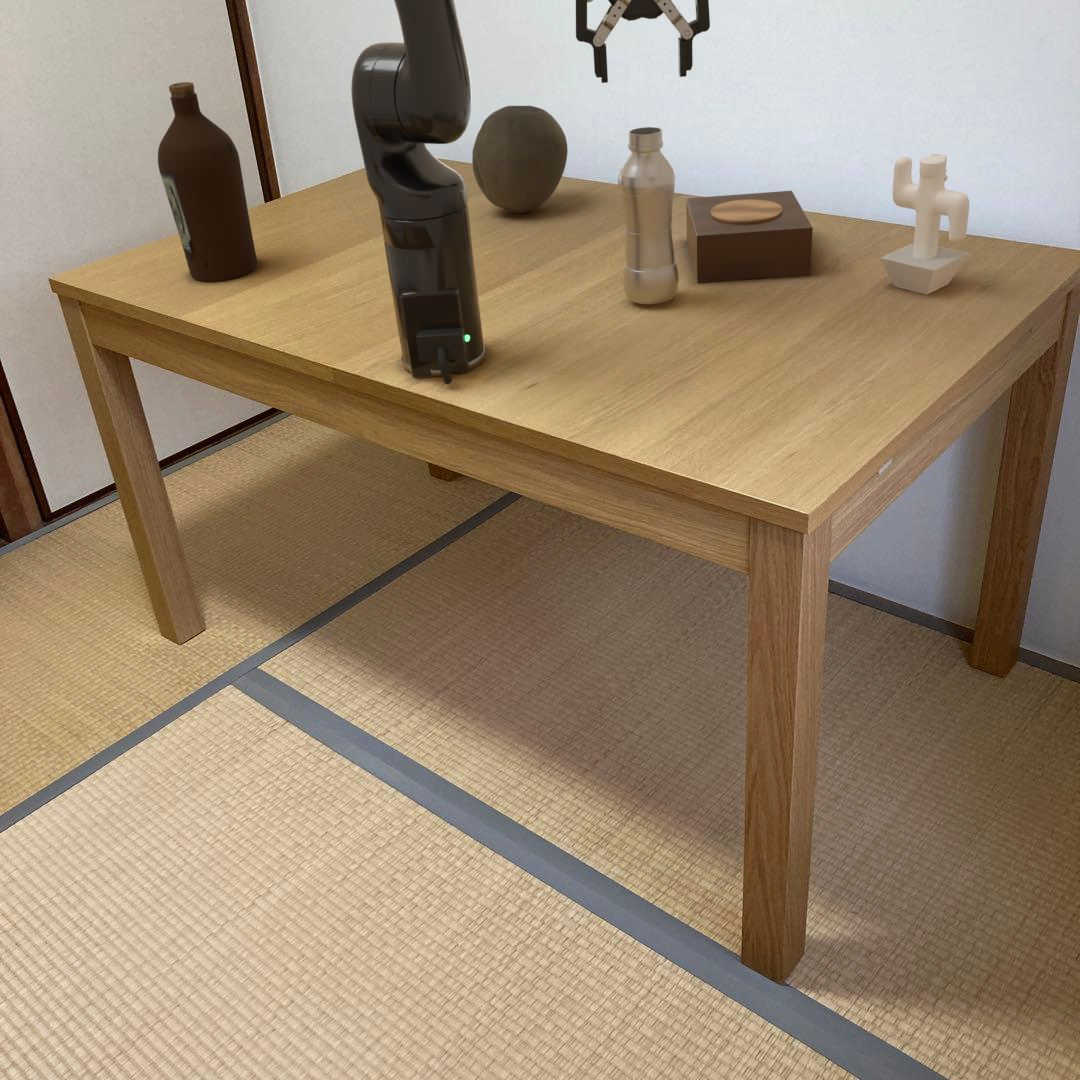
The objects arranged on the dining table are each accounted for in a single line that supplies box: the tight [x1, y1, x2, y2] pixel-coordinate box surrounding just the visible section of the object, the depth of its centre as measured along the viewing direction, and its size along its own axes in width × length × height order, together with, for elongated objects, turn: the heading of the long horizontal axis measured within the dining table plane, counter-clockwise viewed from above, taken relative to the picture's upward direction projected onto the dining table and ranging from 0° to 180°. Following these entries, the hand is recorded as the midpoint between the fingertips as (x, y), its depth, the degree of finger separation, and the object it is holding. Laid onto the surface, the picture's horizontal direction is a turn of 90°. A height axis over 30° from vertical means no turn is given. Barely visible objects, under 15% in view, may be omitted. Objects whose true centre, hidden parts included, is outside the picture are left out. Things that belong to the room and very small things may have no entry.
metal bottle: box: [617, 126, 680, 305], centre depth 135 cm, size 6×7×20 cm
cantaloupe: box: [471, 105, 569, 214], centre depth 173 cm, size 14×14×15 cm
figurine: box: [879, 153, 970, 296], centre depth 133 cm, size 7×9×15 cm
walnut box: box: [685, 190, 814, 284], centre depth 149 cm, size 16×14×6 cm
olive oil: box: [157, 81, 258, 282], centre depth 157 cm, size 11×11×25 cm
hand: (643, 78), depth 127 cm, fingers open, 8 cm apart
